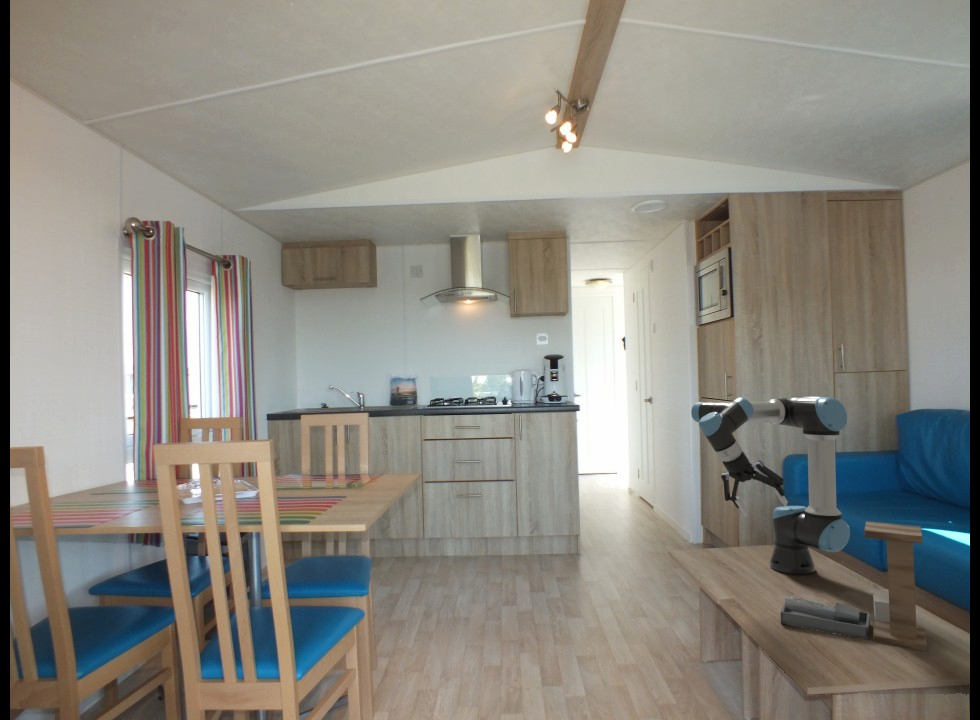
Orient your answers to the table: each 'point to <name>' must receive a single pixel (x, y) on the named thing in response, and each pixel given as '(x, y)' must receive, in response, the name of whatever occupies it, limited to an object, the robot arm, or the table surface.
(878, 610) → the white cube
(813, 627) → the tray
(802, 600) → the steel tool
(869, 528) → the shelf post
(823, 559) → the table surface
